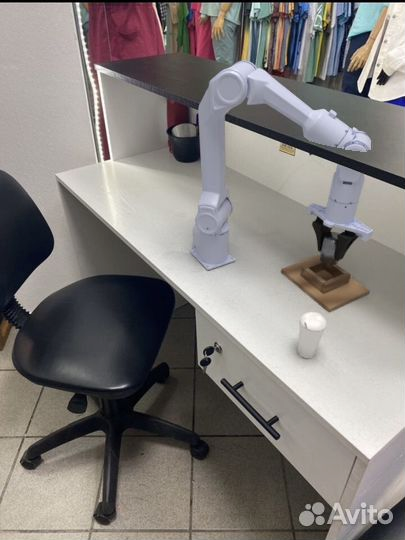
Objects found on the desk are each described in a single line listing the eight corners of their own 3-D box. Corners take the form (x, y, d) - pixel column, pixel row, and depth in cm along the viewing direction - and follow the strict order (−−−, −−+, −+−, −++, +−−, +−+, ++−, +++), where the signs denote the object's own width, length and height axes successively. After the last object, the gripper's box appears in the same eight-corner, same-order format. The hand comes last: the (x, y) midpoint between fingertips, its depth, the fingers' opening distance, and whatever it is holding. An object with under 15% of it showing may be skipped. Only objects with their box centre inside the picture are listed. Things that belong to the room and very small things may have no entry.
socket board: (280, 272, 93) (282, 260, 91) (318, 258, 98) (320, 246, 95) (328, 312, 82) (332, 299, 80) (368, 294, 87) (372, 281, 84)
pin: (315, 258, 86) (320, 235, 82) (327, 252, 88) (332, 229, 84) (330, 267, 83) (335, 244, 80) (341, 260, 85) (347, 237, 82)
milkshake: (286, 354, 73) (293, 315, 67) (302, 339, 76) (311, 301, 70) (307, 368, 70) (316, 329, 64) (322, 352, 73) (333, 313, 67)
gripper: (301, 190, 79) (292, 246, 87) (364, 218, 70) (347, 277, 78) (323, 181, 83) (312, 235, 91) (386, 206, 74) (367, 264, 82)
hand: (330, 254), depth 85 cm, fingers closed on pin, 4 cm apart
